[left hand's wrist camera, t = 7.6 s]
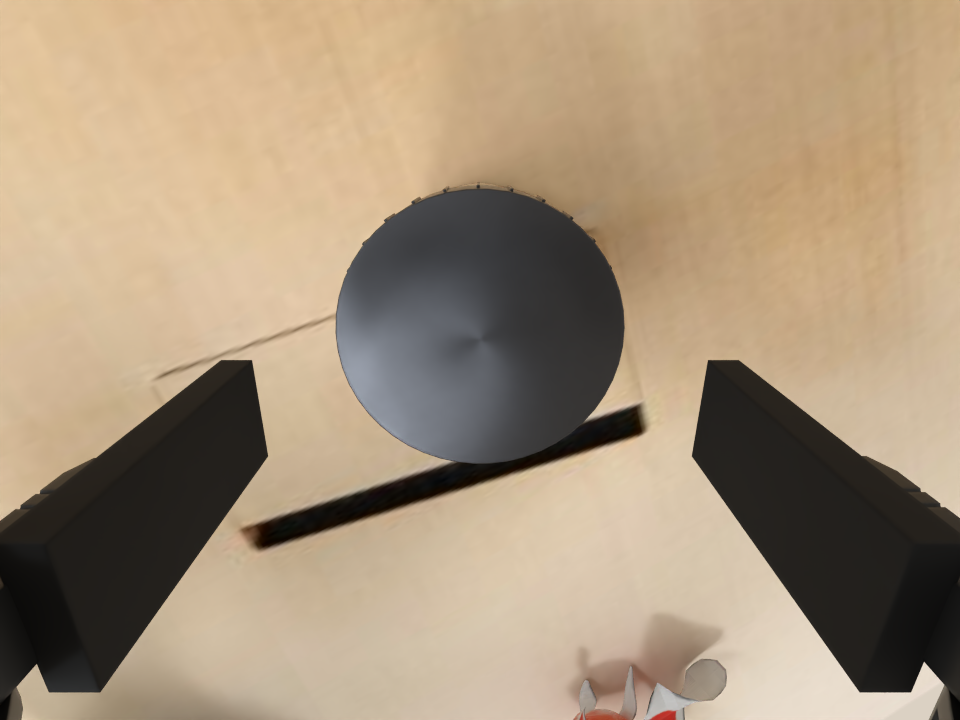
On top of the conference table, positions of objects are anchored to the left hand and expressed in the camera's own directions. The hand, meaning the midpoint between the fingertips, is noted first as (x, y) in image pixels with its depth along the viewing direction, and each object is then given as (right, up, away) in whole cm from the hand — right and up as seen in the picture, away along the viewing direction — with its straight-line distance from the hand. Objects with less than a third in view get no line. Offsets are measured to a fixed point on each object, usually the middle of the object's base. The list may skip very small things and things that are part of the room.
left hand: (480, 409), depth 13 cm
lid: (0, +2, +5) cm, 6 cm away
